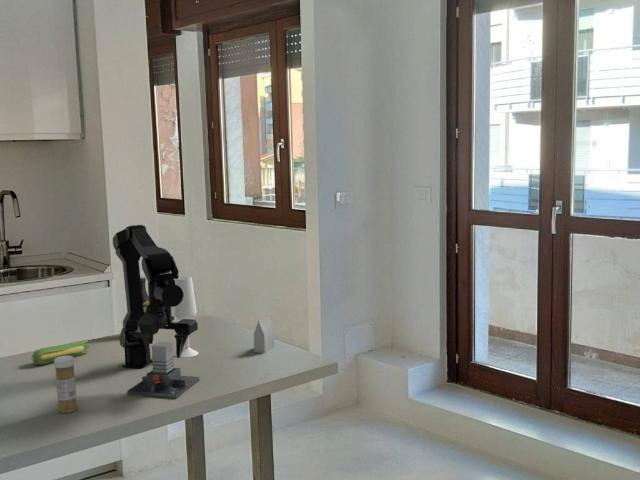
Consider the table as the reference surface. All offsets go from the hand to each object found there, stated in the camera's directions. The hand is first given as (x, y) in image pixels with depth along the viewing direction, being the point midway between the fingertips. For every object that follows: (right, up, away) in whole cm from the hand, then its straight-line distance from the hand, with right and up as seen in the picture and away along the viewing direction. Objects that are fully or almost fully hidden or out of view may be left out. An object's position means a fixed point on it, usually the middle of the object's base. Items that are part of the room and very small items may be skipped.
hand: (162, 356), depth 190 cm
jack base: (0, -8, +1) cm, 8 cm away
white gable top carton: (+24, -4, +34) cm, 42 cm away
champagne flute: (+1, -4, +31) cm, 31 cm away
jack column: (0, -4, +1) cm, 4 cm away
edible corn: (-37, -6, +29) cm, 47 cm away
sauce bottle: (-19, -1, +54) cm, 57 cm away
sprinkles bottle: (-20, -11, -14) cm, 27 cm away
